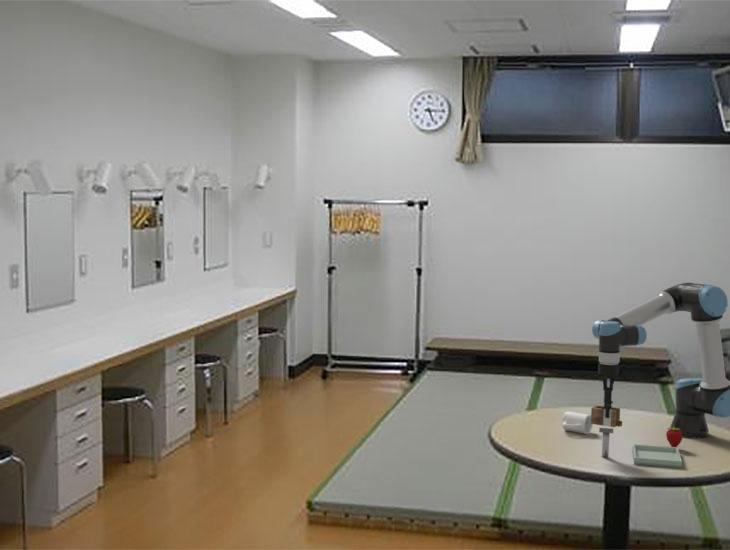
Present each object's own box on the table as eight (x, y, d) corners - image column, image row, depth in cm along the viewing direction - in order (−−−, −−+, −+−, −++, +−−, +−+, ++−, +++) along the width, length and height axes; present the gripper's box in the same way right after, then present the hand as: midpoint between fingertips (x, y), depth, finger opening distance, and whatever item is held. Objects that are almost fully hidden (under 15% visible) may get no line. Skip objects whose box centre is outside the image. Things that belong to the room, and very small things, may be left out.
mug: (570, 428, 397) (571, 409, 396) (592, 432, 391) (593, 413, 390) (557, 433, 388) (557, 414, 387) (579, 437, 381) (579, 418, 381)
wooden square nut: (590, 423, 353) (591, 407, 352) (596, 420, 358) (596, 405, 357) (618, 428, 347) (619, 412, 346) (623, 424, 352) (624, 408, 351)
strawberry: (670, 451, 363) (671, 426, 362) (662, 446, 370) (663, 421, 369) (685, 451, 363) (686, 426, 362) (677, 446, 371) (678, 421, 370)
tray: (677, 453, 359) (677, 447, 359) (681, 468, 340) (682, 461, 340) (632, 450, 363) (632, 444, 363) (634, 464, 344) (634, 457, 344)
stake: (612, 456, 354) (613, 428, 353) (612, 458, 352) (613, 429, 351) (598, 455, 355) (599, 427, 354) (598, 457, 353) (599, 428, 352)
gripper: (598, 357, 361) (596, 416, 363) (598, 367, 341) (596, 429, 344) (618, 358, 359) (616, 417, 361) (619, 368, 340) (617, 430, 342)
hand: (606, 423), depth 352 cm, fingers closed on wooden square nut, 7 cm apart
